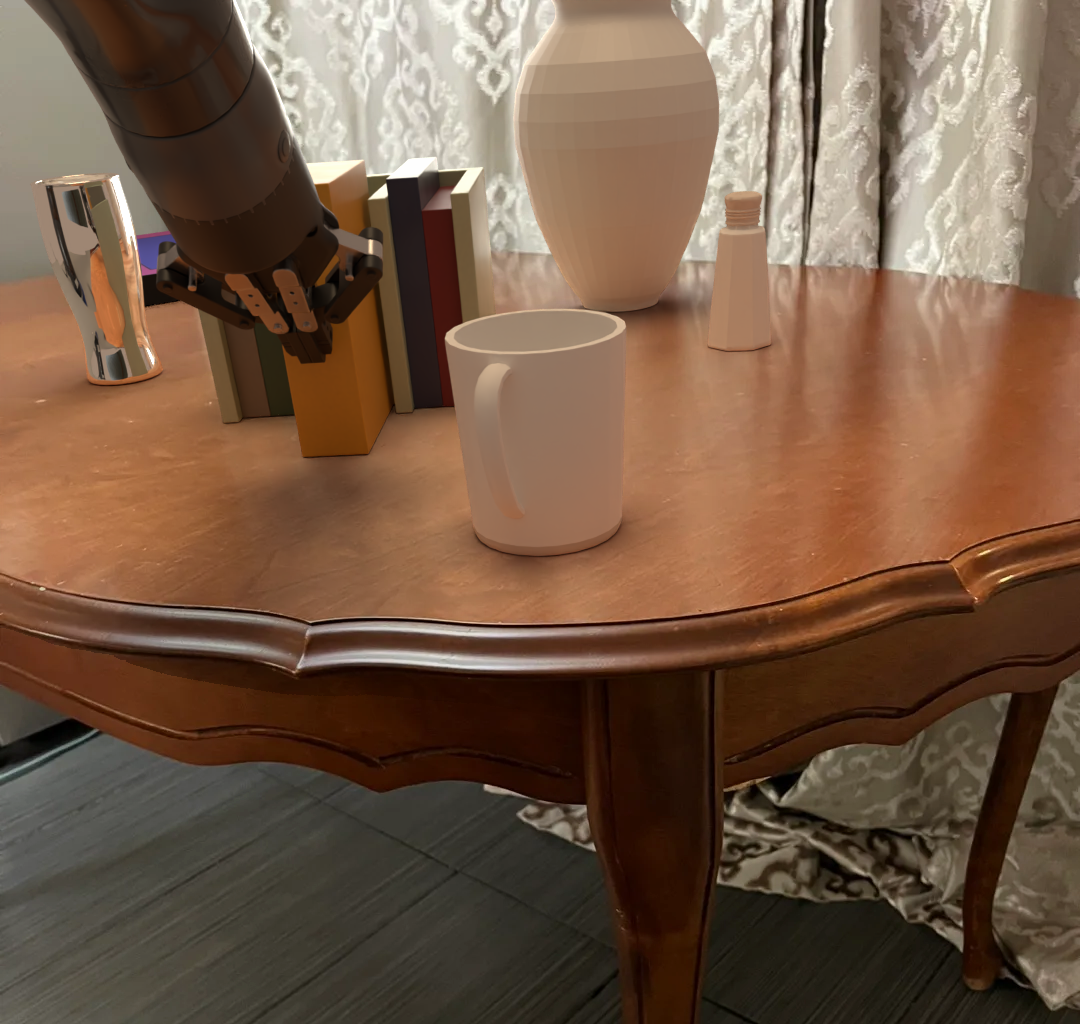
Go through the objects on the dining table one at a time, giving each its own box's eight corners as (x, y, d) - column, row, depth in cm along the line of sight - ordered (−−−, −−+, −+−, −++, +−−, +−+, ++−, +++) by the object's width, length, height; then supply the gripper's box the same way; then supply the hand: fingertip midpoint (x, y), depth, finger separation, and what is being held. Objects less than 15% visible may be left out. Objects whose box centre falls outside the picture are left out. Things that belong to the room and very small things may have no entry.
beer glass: (110, 364, 97) (59, 174, 89) (183, 363, 96) (138, 170, 88) (66, 387, 91) (8, 186, 83) (142, 387, 90) (91, 182, 82)
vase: (493, 321, 101) (465, -5, 88) (572, 280, 115) (558, -9, 101) (678, 330, 94) (678, -24, 81) (740, 285, 108) (749, -25, 94)
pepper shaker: (720, 332, 93) (723, 187, 87) (782, 336, 90) (790, 187, 85) (694, 349, 89) (695, 198, 83) (759, 353, 87) (765, 199, 81)
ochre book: (302, 457, 73) (253, 188, 64) (337, 402, 83) (299, 163, 74) (368, 454, 72) (328, 183, 64) (396, 399, 82) (364, 159, 74)
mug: (506, 489, 65) (490, 306, 60) (652, 502, 62) (650, 310, 57) (418, 566, 57) (391, 361, 51) (582, 586, 54) (571, 370, 48)
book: (132, 277, 116) (80, 243, 138) (139, 307, 117) (87, 268, 140) (322, 247, 124) (244, 220, 146) (327, 276, 126) (249, 244, 148)
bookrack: (222, 423, 80) (172, 195, 72) (268, 370, 92) (229, 169, 84) (487, 408, 79) (467, 175, 71) (499, 356, 91) (482, 151, 83)
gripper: (354, 66, 52) (421, 289, 69) (79, 87, 53) (211, 302, 70) (351, 206, 50) (420, 399, 67) (67, 226, 51) (206, 412, 68)
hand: (313, 350), depth 68 cm, fingers closed
